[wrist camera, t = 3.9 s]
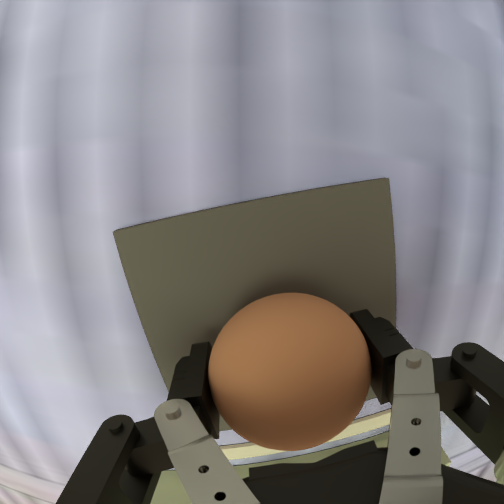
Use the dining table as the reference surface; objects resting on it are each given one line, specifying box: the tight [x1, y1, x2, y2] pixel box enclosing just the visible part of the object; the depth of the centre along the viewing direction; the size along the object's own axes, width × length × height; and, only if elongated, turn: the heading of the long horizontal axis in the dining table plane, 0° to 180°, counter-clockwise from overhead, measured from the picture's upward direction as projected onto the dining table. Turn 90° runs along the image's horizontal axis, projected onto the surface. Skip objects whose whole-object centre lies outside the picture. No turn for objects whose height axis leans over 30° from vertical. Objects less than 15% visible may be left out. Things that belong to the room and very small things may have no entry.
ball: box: [208, 293, 372, 451], centre depth 11 cm, size 6×6×6 cm
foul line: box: [219, 409, 391, 460], centre depth 17 cm, size 24×1×1 cm, turn 101°
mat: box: [113, 178, 396, 431], centre depth 15 cm, size 12×12×1 cm
